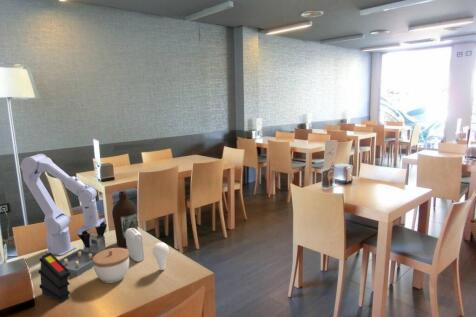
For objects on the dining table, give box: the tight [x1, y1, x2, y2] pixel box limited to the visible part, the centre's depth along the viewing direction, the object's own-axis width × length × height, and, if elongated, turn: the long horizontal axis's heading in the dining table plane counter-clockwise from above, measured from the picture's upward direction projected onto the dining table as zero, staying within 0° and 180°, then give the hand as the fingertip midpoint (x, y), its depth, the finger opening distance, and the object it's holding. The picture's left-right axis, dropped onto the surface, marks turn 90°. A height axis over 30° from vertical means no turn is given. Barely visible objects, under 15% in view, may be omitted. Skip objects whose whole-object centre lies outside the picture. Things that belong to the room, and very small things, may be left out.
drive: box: [82, 233, 107, 253], centre depth 147 cm, size 9×4×6 cm, turn 67°
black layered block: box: [38, 253, 72, 303], centre depth 112 cm, size 4×13×15 cm, turn 60°
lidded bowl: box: [93, 247, 130, 284], centre depth 122 cm, size 13×13×11 cm
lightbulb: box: [152, 242, 170, 271], centre depth 127 cm, size 6×6×11 cm
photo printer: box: [125, 228, 145, 262], centre depth 138 cm, size 10×4×12 cm, turn 39°
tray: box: [58, 248, 98, 277], centre depth 134 cm, size 14×14×4 cm
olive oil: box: [111, 189, 139, 248], centre depth 151 cm, size 11×11×25 cm
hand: (94, 243), depth 147 cm, fingers open, 7 cm apart
